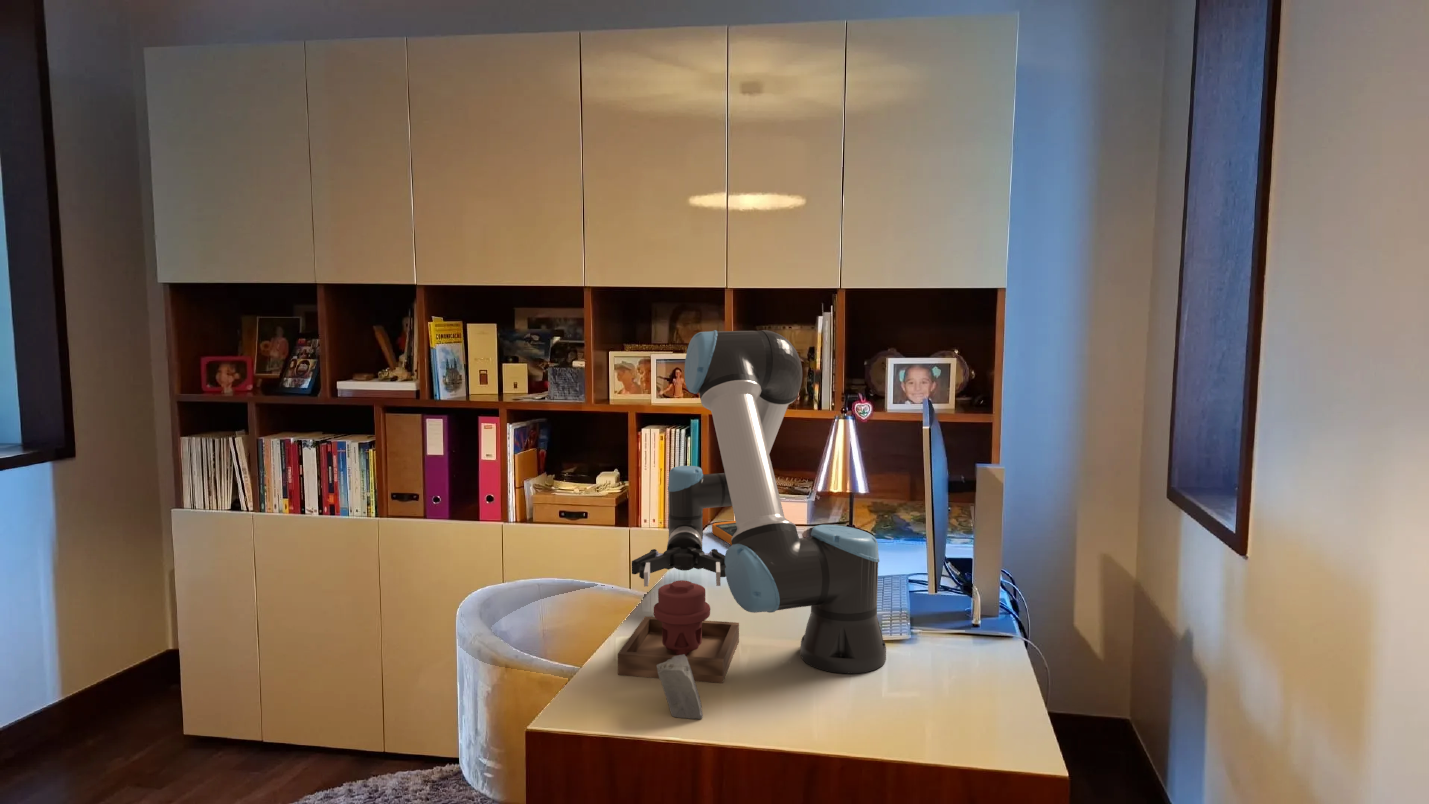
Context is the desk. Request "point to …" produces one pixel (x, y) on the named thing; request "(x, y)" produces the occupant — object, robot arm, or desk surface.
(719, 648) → the walnut tray
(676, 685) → the mineral specimen
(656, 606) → the mechanical component
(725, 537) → the multimeter
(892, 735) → the desk surface
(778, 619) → the desk surface
